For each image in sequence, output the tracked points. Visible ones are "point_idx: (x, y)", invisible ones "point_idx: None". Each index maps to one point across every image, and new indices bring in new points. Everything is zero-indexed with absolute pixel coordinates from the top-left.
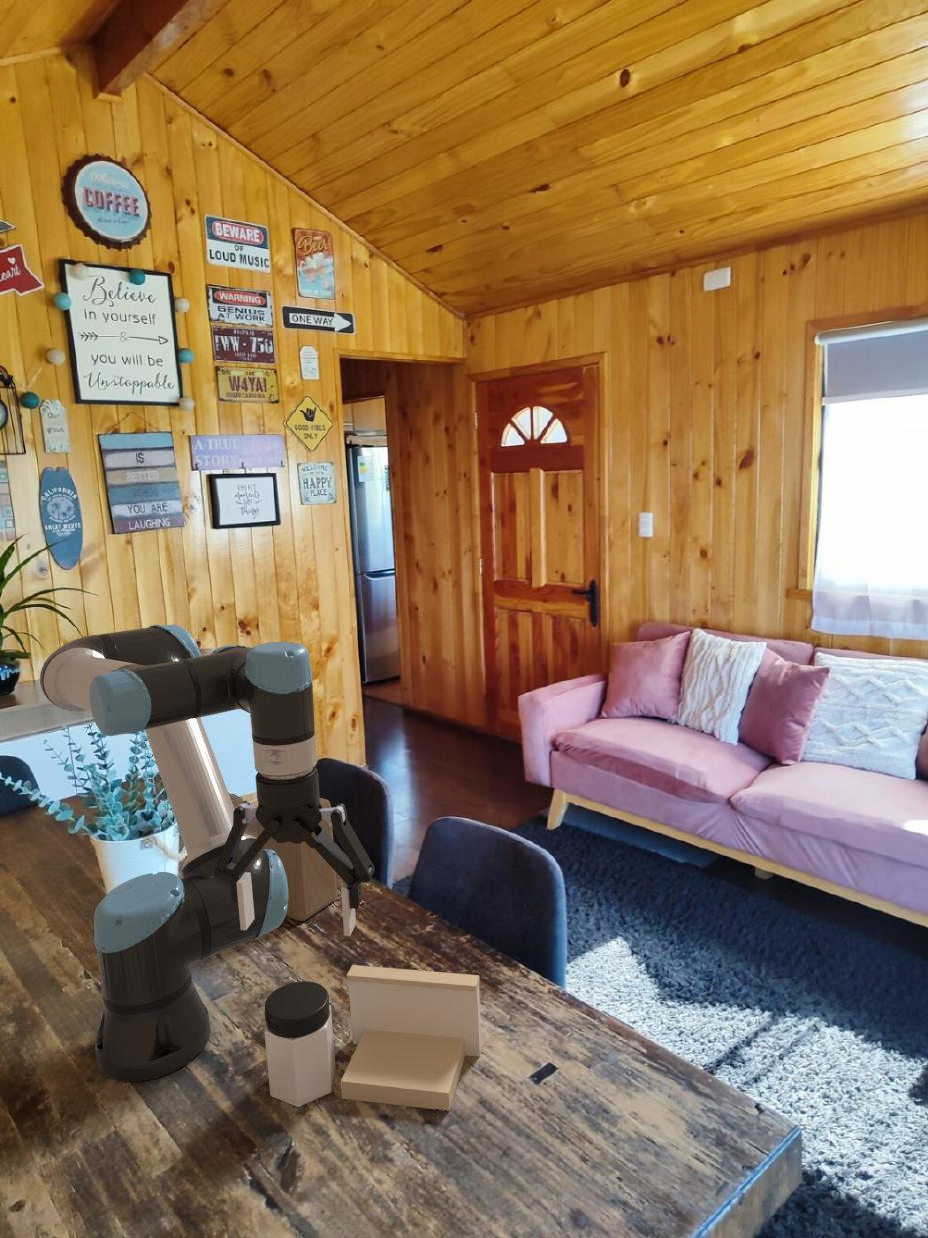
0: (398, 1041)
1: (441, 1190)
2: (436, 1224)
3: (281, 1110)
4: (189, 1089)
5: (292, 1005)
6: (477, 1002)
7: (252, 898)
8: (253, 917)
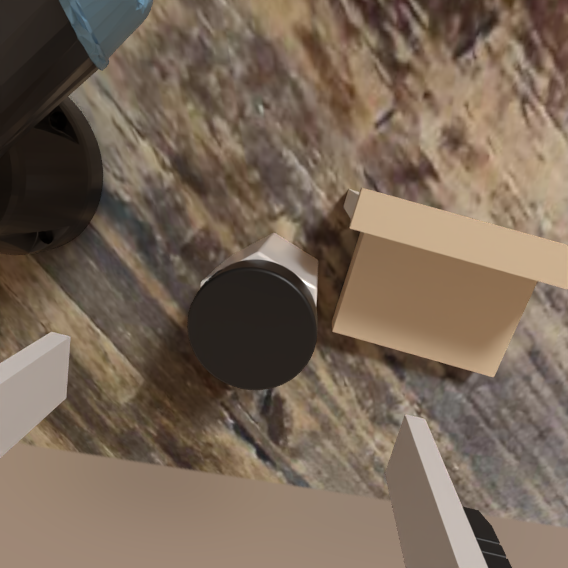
0: (427, 256)
1: (452, 469)
2: None
3: None
4: (112, 273)
5: (245, 349)
6: None
7: (15, 378)
8: (64, 348)
